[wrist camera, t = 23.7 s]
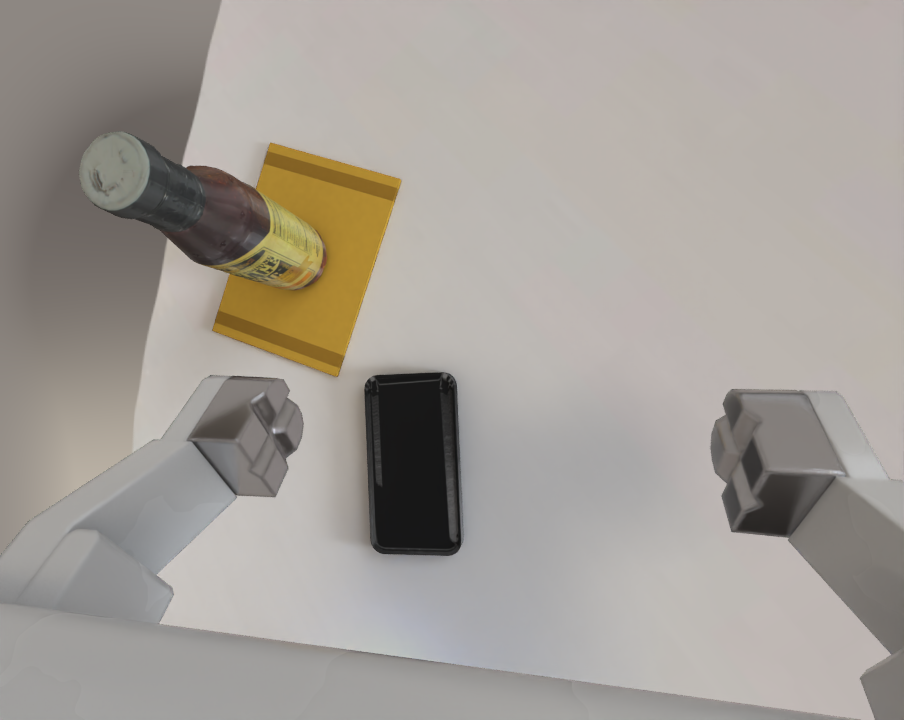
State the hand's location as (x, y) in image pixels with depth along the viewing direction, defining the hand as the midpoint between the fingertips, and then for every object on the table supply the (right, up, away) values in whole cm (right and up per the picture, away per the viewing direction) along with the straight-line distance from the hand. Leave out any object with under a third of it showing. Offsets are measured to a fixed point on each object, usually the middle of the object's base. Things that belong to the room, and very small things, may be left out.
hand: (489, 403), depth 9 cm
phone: (-4, -8, +33) cm, 34 cm away
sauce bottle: (-14, +10, +34) cm, 39 cm away
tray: (-14, +10, +35) cm, 39 cm away
